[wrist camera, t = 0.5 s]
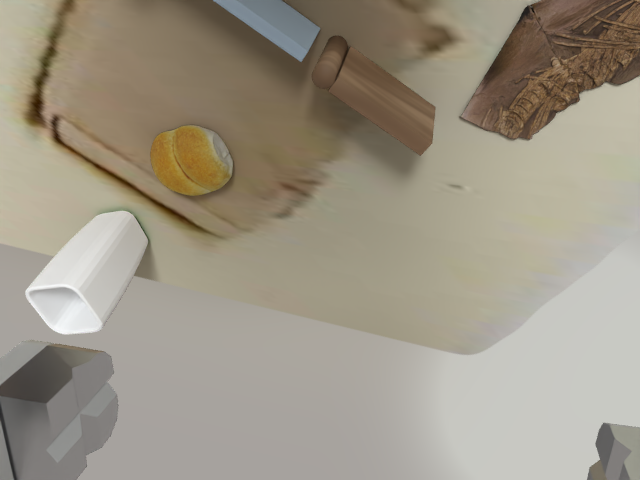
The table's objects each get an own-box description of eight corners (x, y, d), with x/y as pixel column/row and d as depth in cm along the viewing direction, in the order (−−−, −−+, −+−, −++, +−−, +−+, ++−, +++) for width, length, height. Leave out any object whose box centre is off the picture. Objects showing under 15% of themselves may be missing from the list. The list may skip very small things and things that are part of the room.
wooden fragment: (494, 157, 60) (494, 163, 59) (428, 76, 56) (427, 80, 55) (785, -17, 46) (791, -13, 45) (725, -142, 42) (730, -140, 41)
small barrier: (127, -121, 50) (87, -107, 44) (438, 104, 57) (435, 140, 51) (118, -95, 51) (78, -77, 46) (422, 121, 58) (417, 158, 53)
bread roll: (143, 136, 66) (128, 154, 63) (209, 113, 63) (196, 131, 60) (182, 195, 70) (169, 215, 67) (246, 176, 67) (235, 196, 64)
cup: (86, 208, 74) (18, 289, 63) (134, 200, 72) (73, 283, 61) (114, 252, 78) (55, 336, 67) (161, 246, 76) (107, 332, 65)
